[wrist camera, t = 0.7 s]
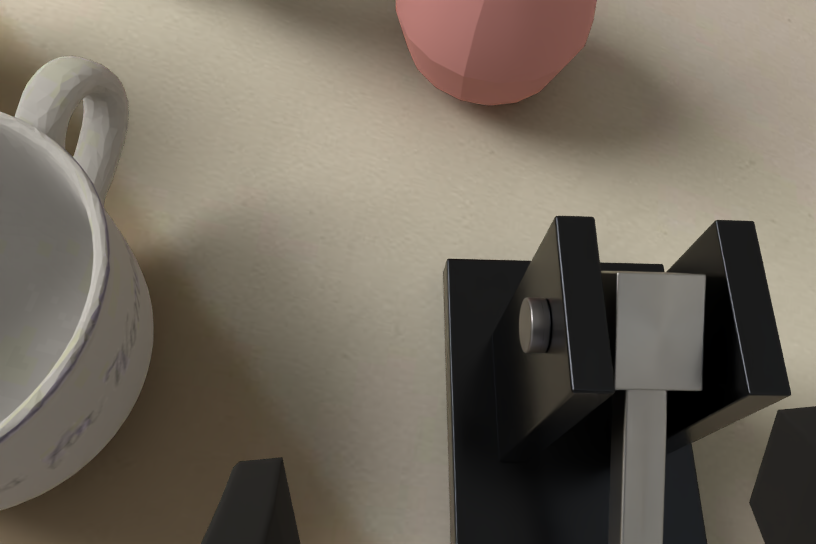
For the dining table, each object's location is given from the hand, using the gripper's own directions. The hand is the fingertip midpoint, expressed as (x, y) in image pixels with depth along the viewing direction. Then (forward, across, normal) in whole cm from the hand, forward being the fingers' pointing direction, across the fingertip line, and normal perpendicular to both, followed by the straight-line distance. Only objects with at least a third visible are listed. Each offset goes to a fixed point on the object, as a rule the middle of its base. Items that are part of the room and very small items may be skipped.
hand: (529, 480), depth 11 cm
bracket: (+12, -4, +10) cm, 16 cm away
